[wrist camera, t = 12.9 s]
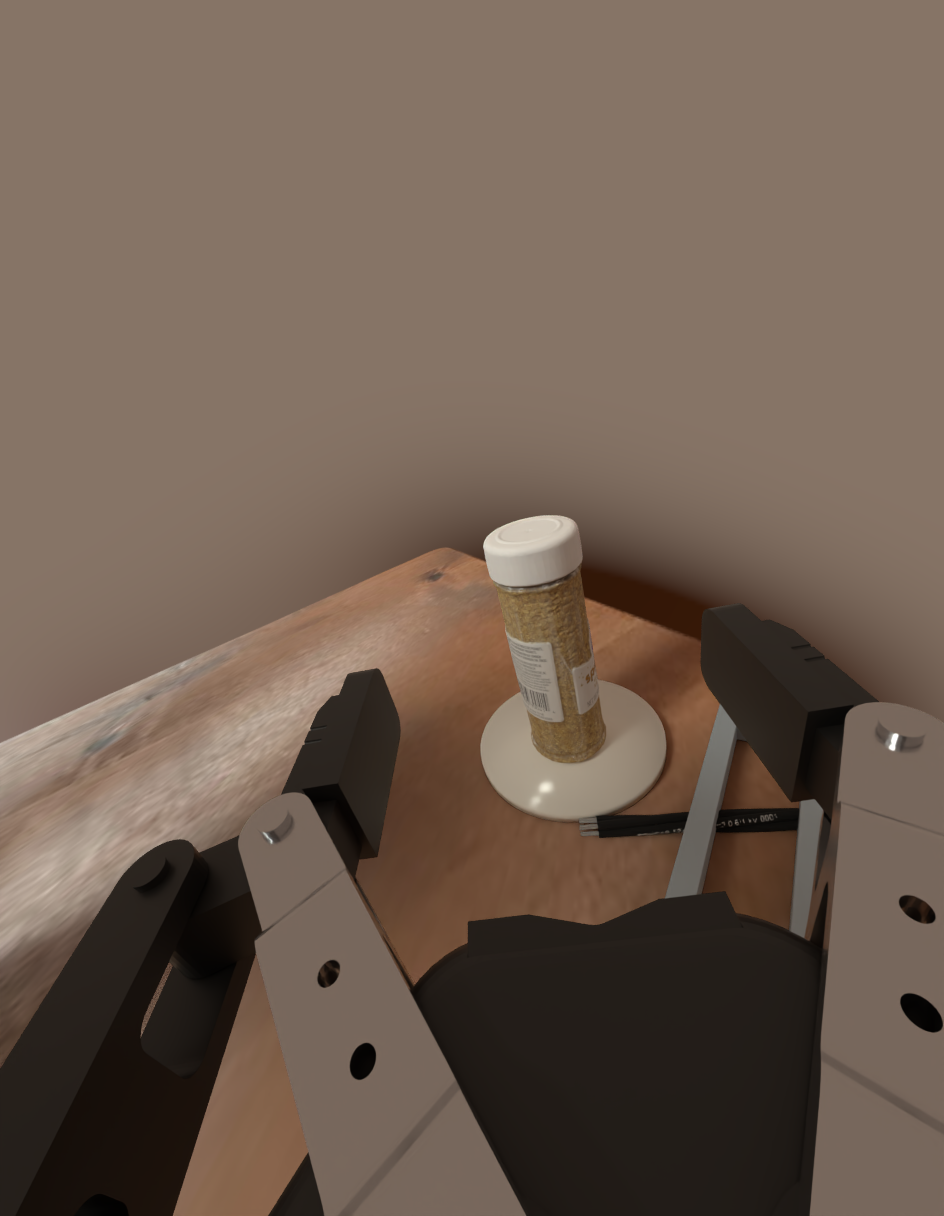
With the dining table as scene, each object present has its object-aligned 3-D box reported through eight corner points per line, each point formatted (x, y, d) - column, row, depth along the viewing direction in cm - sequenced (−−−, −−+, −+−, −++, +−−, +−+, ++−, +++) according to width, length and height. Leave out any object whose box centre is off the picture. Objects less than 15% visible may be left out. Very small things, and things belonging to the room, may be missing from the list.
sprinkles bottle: (623, 746, 26) (597, 525, 19) (551, 779, 25) (501, 559, 19) (582, 701, 30) (549, 505, 23) (519, 728, 29) (469, 532, 23)
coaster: (448, 780, 27) (445, 773, 27) (532, 672, 35) (530, 666, 34) (631, 857, 21) (630, 849, 20) (686, 704, 28) (686, 696, 28)
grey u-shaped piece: (643, 1001, 16) (641, 981, 16) (719, 722, 26) (720, 702, 26) (817, 1105, 13) (823, 1085, 13) (828, 746, 23) (832, 724, 23)
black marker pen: (582, 843, 22) (579, 830, 22) (580, 824, 23) (577, 812, 23) (865, 833, 20) (869, 819, 19) (851, 813, 20) (855, 798, 20)
